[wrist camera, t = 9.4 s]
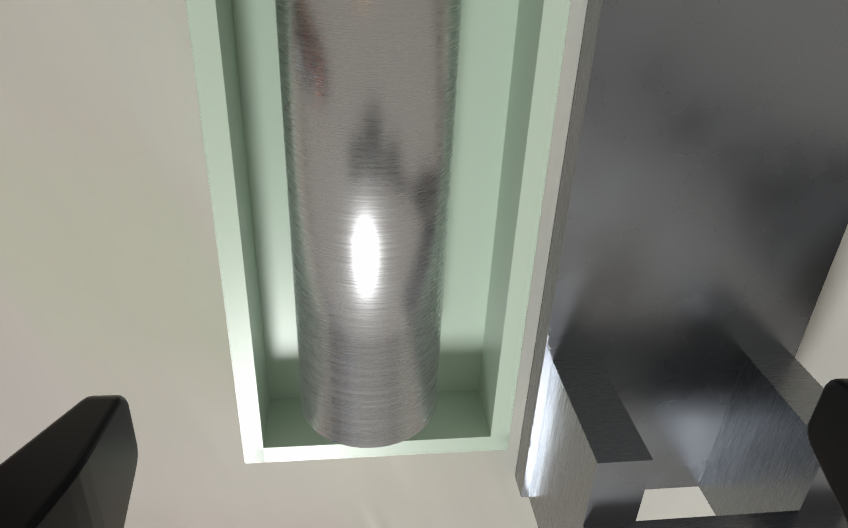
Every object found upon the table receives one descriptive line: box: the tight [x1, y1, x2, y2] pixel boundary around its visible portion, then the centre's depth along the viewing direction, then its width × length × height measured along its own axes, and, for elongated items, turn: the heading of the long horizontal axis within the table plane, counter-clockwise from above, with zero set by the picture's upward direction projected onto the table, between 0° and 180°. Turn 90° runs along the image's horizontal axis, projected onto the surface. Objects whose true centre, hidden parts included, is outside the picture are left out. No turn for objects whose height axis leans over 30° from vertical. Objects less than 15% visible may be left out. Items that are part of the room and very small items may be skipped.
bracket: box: [515, 0, 848, 528], centre depth 20 cm, size 9×18×6 cm, turn 178°
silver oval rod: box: [275, 0, 463, 448], centre depth 16 cm, size 4×15×6 cm, turn 178°
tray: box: [185, 0, 571, 463], centre depth 18 cm, size 8×18×3 cm, turn 178°
